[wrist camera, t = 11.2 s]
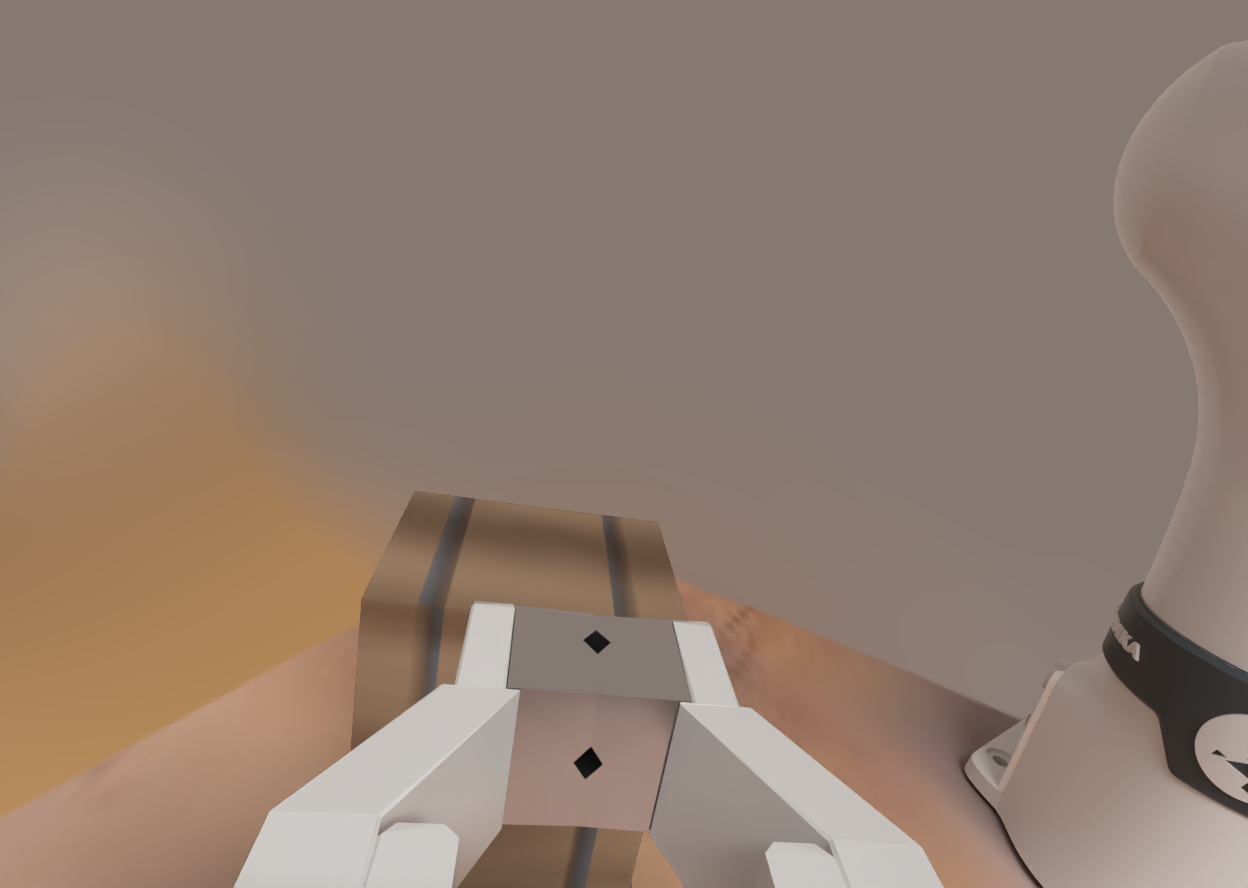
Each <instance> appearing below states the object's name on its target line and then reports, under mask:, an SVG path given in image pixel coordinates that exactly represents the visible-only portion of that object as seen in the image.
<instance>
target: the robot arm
mask: <svg viewBox="0 0 1248 888" xmlns="http://www.w3.org/2000/svg"><path fill="white" fill-rule="evenodd" d="M1113 203H1114V218H1115V223H1116V228H1117V232H1118V235H1119V237H1120V240H1121V243H1122V246H1123V248H1124V249H1125V251H1126V253H1127V255H1128V257H1129V258H1130V260H1131V261H1132V263H1133V264H1134V266H1135V267H1136V268H1137V270H1138V271H1139V272H1141V274H1142V275H1143V276H1144V277H1145V278H1146V279H1147V280H1148V281H1149V282H1150V283H1151V285H1152V286H1153V287H1154V288H1155V290H1156V291H1157V292H1158V294H1159V295H1160V296H1161V298H1162V299H1163V300H1164V302H1165V303H1166V304H1167V306H1168V308H1169V309H1170V311H1171V313H1172V314H1173V316H1174V318H1175V320H1176V322H1177V323H1178V325H1179V327H1180V329H1181V332H1182V334H1183V336H1184V338H1185V341H1186V344H1187V346H1188V349H1189V352H1190V355H1191V359H1192V362H1193V366H1194V370H1195V376H1196V381H1197V389H1198V400H1199V420H1198V433H1197V440H1196V445H1195V451H1194V455H1193V459H1192V462H1191V466H1190V469H1189V472H1188V475H1187V478H1186V481H1185V484H1184V487H1183V490H1182V493H1181V496H1180V499H1179V501H1178V504H1177V507H1176V510H1175V513H1174V515H1173V518H1172V520H1171V523H1170V525H1169V528H1168V530H1167V533H1166V535H1165V537H1164V540H1163V542H1162V545H1161V547H1160V549H1159V552H1158V554H1157V556H1156V558H1155V561H1154V563H1153V565H1152V567H1151V569H1150V572H1149V574H1148V576H1147V578H1146V580H1145V582H1142V583H1139V584H1136V585H1134V586H1133V587H1132V588H1131V589H1130V590H1129V592H1128V594H1127V596H1126V597H1125V599H1124V601H1123V602H1122V603H1121V604H1120V605H1119V606H1118V608H1117V609H1116V611H1115V613H1114V615H1113V617H1112V620H1111V622H1112V623H1111V627H1110V629H1109V631H1108V633H1107V636H1106V638H1105V640H1104V642H1103V653H1101V654H1100V655H1097V656H1095V657H1094V658H1092V659H1089V660H1085V661H1082V662H1077V663H1073V662H1071V661H1069V660H1067V659H1063V658H1062V659H1060V660H1059V661H1058V662H1057V663H1056V664H1055V666H1054V667H1053V669H1052V670H1051V671H1050V672H1049V674H1048V675H1047V677H1046V679H1045V681H1044V683H1043V688H1044V689H1045V690H1044V692H1043V694H1042V696H1041V698H1040V700H1039V702H1038V704H1037V706H1036V708H1035V710H1034V712H1033V713H1032V714H1030V715H1029V716H1027V717H1026V718H1024V719H1023V720H1021V721H1020V722H1018V723H1017V724H1015V725H1014V726H1012V727H1011V728H1009V729H1008V730H1006V731H1005V732H1003V733H1002V734H1000V735H999V736H997V737H996V738H994V739H993V740H991V741H990V742H988V743H987V744H985V745H984V746H982V747H981V748H979V749H978V750H976V751H975V752H974V753H973V754H972V755H971V757H970V758H969V760H968V762H967V763H966V765H965V772H966V775H967V776H968V778H969V779H970V781H971V782H972V783H973V784H974V786H975V787H976V788H977V789H978V790H979V792H980V793H981V794H982V795H983V796H984V797H985V798H986V799H987V801H988V802H989V803H990V804H991V805H992V806H993V807H994V808H995V809H996V811H997V812H998V814H999V816H1000V817H1001V819H1002V821H1003V823H1004V825H1005V827H1006V830H1007V832H1008V834H1009V836H1010V838H1011V840H1012V842H1013V844H1014V846H1015V848H1016V850H1017V852H1018V853H1019V855H1020V856H1021V858H1022V860H1023V861H1024V863H1025V864H1026V866H1027V867H1028V868H1029V870H1030V871H1031V872H1032V874H1033V875H1034V876H1035V878H1036V879H1037V880H1038V882H1039V883H1040V884H1041V885H1042V886H1043V888H1248V40H1247V41H1242V42H1236V43H1230V44H1226V45H1224V46H1222V47H1220V48H1219V49H1217V50H1216V51H1214V52H1212V53H1211V54H1209V55H1208V56H1206V57H1205V58H1203V59H1202V60H1201V61H1199V62H1198V63H1197V64H1195V65H1194V66H1193V67H1191V68H1190V69H1189V70H1187V71H1186V72H1185V73H1184V74H1183V75H1182V76H1181V77H1179V78H1178V79H1177V80H1176V81H1175V82H1174V83H1173V84H1171V85H1170V86H1169V88H1168V89H1167V90H1166V91H1165V92H1164V93H1163V94H1162V95H1161V96H1160V97H1159V98H1158V99H1157V101H1156V102H1155V103H1154V104H1153V106H1152V107H1151V108H1150V109H1149V110H1148V112H1147V113H1146V114H1145V115H1144V117H1143V118H1142V120H1141V121H1140V123H1139V125H1138V126H1137V128H1136V129H1135V131H1134V133H1133V134H1132V136H1131V138H1130V140H1129V142H1128V144H1127V146H1126V149H1125V151H1124V153H1123V156H1122V159H1121V161H1120V165H1119V168H1118V172H1117V176H1116V181H1115V187H1114V199H1113ZM514 612H515V616H514ZM513 621H514V622H513ZM502 824H510V825H553V826H581V827H593V828H606V829H618V830H630V831H642V832H650V835H649V836H650V837H651V839H652V840H653V842H654V843H655V845H656V846H657V848H658V849H659V850H660V852H661V853H662V855H663V856H664V858H665V859H666V861H667V862H668V863H669V865H670V866H671V868H672V869H673V871H674V872H675V874H676V875H677V876H678V878H679V879H680V881H681V882H682V884H683V885H684V887H685V888H944V887H943V886H942V884H941V882H940V880H939V878H938V876H937V874H936V873H935V871H934V869H933V867H932V865H931V863H930V861H929V860H928V858H927V856H926V854H925V852H924V850H923V848H922V847H921V846H920V845H919V844H918V843H916V842H915V841H914V840H913V839H911V838H910V837H909V836H908V835H906V834H905V833H904V832H903V831H902V830H900V829H899V828H898V827H897V826H895V825H894V824H893V823H892V822H891V821H889V820H888V819H887V818H886V817H884V816H883V815H882V814H881V813H879V812H878V811H877V810H876V809H875V808H873V807H872V806H871V805H870V804H868V803H867V802H866V801H865V800H864V799H862V798H861V797H860V796H859V795H857V794H856V793H855V792H854V791H852V790H851V789H850V788H849V787H848V786H846V785H845V784H844V783H843V782H841V781H840V780H839V779H838V778H836V777H835V776H834V775H833V774H832V773H830V772H829V771H828V770H827V769H825V768H824V767H823V766H822V765H821V764H819V763H818V762H817V761H816V760H814V759H813V758H812V757H811V756H809V755H808V754H807V753H806V752H805V751H803V750H802V749H801V748H800V747H798V746H797V745H796V744H795V743H794V742H792V741H791V740H790V739H789V738H787V737H786V736H785V735H784V734H782V733H781V732H780V731H779V730H778V729H776V728H775V727H774V726H773V725H771V724H770V723H769V722H768V721H766V720H765V719H764V718H763V717H762V716H760V715H759V714H758V713H757V712H755V711H754V710H753V709H752V708H746V707H739V704H738V701H737V698H736V695H735V692H734V690H733V687H732V684H731V681H730V678H729V675H728V672H727V669H726V666H725V664H724V661H723V658H722V655H721V652H720V649H719V646H718V643H717V640H716V638H715V635H714V632H713V629H712V626H711V625H710V624H709V623H707V622H702V621H684V620H661V619H647V618H632V617H618V616H604V615H594V614H593V613H584V612H576V611H567V610H558V609H549V608H540V607H532V606H523V605H516V609H515V607H514V605H513V604H507V603H495V602H483V601H475V602H474V603H473V605H472V607H471V611H470V616H469V620H468V625H467V630H466V634H465V639H464V643H463V648H462V653H461V657H460V662H459V666H458V671H457V675H456V680H455V685H451V684H441V685H440V686H438V687H437V688H436V689H434V690H433V691H432V692H430V693H429V694H428V695H426V696H425V697H424V698H422V699H421V700H419V701H418V702H417V703H415V704H414V705H413V706H411V707H410V708H409V709H407V710H406V711H405V712H403V713H402V714H401V715H399V716H398V717H396V718H395V719H394V720H392V721H391V722H390V723H388V724H387V725H386V726H384V727H383V728H382V729H380V730H379V731H377V732H376V733H375V734H373V735H372V736H371V737H369V738H368V739H367V740H365V741H364V742H363V743H361V744H360V745H358V746H357V747H356V748H354V749H353V750H352V751H350V752H349V753H348V754H346V755H345V756H344V757H342V758H341V759H339V760H338V761H337V762H335V763H334V764H333V765H331V766H330V767H329V768H327V769H326V770H325V771H323V772H322V773H320V774H319V775H318V776H316V777H315V778H314V779H312V780H311V781H310V782H308V783H307V784H306V785H304V786H303V787H302V788H300V789H299V790H297V791H296V792H295V793H293V794H292V795H291V796H289V797H288V798H287V799H285V800H284V801H283V802H281V803H280V804H278V805H277V806H276V807H274V808H273V809H272V810H270V812H269V814H268V816H267V818H266V820H265V822H264V824H263V826H262V828H261V831H260V833H259V835H258V837H257V839H256V841H255V843H254V845H253V847H252V849H251V852H250V854H249V856H248V858H247V860H246V862H245V864H244V866H243V868H242V870H241V873H240V875H239V877H238V879H237V881H236V883H235V885H234V887H233V888H457V887H458V886H459V884H460V883H461V882H462V880H463V879H464V878H465V877H466V875H467V874H468V873H469V871H470V870H471V869H472V867H473V866H474V865H475V863H476V862H477V861H478V859H479V858H480V857H481V855H482V854H483V853H484V851H485V850H486V849H487V847H488V846H489V845H490V843H491V842H492V841H493V839H494V838H495V837H496V835H497V834H498V833H499V831H500V830H501V828H502Z"/></svg>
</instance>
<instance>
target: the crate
mask: <svg viewBox="0 0 1248 888" xmlns="http://www.w3.org/2000/svg"><path fill="white" fill-rule="evenodd" d="M475 601H483V602H495V603H507V604H513V605H514V607H515V609H516V605H523V606H532V607H540V608H549V609H558V610H567V611H576V612H584V613H593V614H594V615H604V616H618V617H632V618H647V619H661V620H684V621H687V617H686V614H685V611H684V607H683V604H682V601H681V597H680V594H679V591H678V587H677V584H676V581H675V577H674V574H673V571H672V567H671V564H670V561H669V557H668V554H667V551H666V547H665V544H664V540H663V537H662V534H661V530H660V527H659V524H658V522H652V521H644V520H636V519H628V518H621V517H613V516H605V515H598V514H590V513H582V512H574V511H566V510H559V509H551V508H543V507H536V506H528V505H519V504H511V503H504V502H497V501H489V500H481V499H473V498H465V497H458V496H450V495H442V494H435V493H427V492H419V491H415V492H414V494H413V496H412V498H411V500H410V502H409V504H408V506H407V508H406V510H405V512H404V514H403V516H402V518H401V520H400V522H399V524H398V526H397V528H396V530H395V532H394V534H393V536H392V538H391V540H390V542H389V544H388V546H387V548H386V550H385V552H384V554H383V556H382V558H381V560H380V563H379V564H378V567H377V568H376V570H375V572H374V574H373V577H372V578H371V581H370V582H369V585H368V587H367V589H366V591H365V593H364V595H363V597H362V600H361V614H360V627H359V642H358V656H357V670H356V684H355V698H354V712H353V726H352V740H351V751H352V750H353V749H354V748H356V747H357V746H358V745H360V744H361V743H363V742H364V741H365V740H367V739H368V738H369V737H371V736H372V735H373V734H375V733H376V732H377V731H379V730H380V729H382V728H383V727H384V726H386V725H387V724H388V723H390V722H391V721H392V720H394V719H395V718H396V717H398V716H399V715H401V714H402V713H403V712H405V711H406V710H407V709H409V708H410V707H411V706H413V705H414V704H415V703H417V702H418V701H419V700H421V699H422V698H424V697H425V696H426V695H428V694H429V693H430V692H432V691H433V690H434V689H436V688H437V687H438V686H440V685H441V684H451V685H455V680H456V675H457V671H458V666H459V662H460V657H461V653H462V648H463V643H464V639H465V634H466V630H467V625H468V620H469V616H470V611H471V607H472V605H473V603H474V602H475ZM514 616H515V612H514ZM513 622H514V621H513ZM642 833H643V832H642V831H630V830H618V829H606V828H593V827H581V826H553V825H510V824H502V828H501V830H500V831H499V833H498V834H497V835H496V837H495V838H494V839H493V841H492V842H491V843H490V845H489V846H488V847H487V849H486V850H485V851H484V853H483V854H482V855H481V857H480V858H479V859H478V861H477V862H476V863H475V865H474V866H473V867H472V869H471V870H470V871H469V873H468V874H467V875H466V877H465V878H464V879H463V880H462V882H461V883H460V884H459V886H458V887H457V888H629V886H630V882H631V878H632V874H633V870H634V866H635V862H636V858H637V854H638V849H639V845H640V841H641V837H642Z"/></svg>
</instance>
